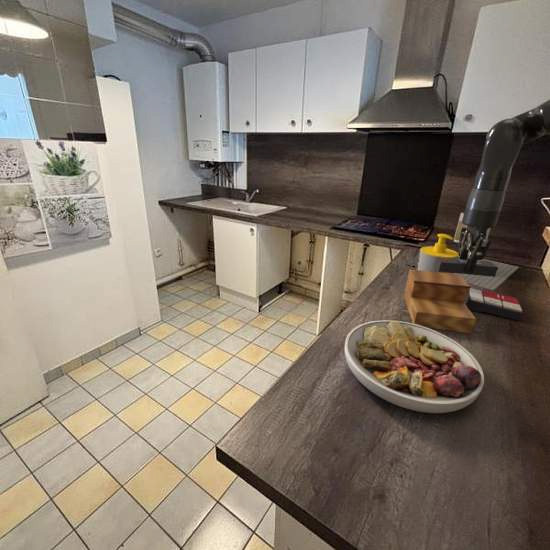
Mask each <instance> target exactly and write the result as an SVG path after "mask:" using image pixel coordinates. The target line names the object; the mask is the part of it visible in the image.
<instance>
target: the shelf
mask: <svg viewBox="0 0 550 550" xmlns="http://www.w3.org/2000/svg"><path fill="white" fill-rule="evenodd" d="M408 270H409V271H408V275H407V280H406V284H405V290H404V293H403V294H404V295H403V299H404V301H405V304H406V308H407V311H408V313H409V317H410V320H411V323H412V324H416V325H420V326H423V327H426V328H429V329H434V330H435V329H437V330H444V331H449V332H458V333H463V334H464V333H466V334H472V333H473V330H474V326H475V323H476V321H477V319H476V317H475V316H474V314H473V312H472V311H471V310H469V309H468V307H467V306H466V305H465V300H466V296H467V293H468V290H469V288H472V287H471V286H470V285H469V283H466V282H465V280H464V279H463V278H462V277H461V276H460V275H459V274H451V273H441V272H430V271H420V270H417V269H408Z"/></svg>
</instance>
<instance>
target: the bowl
mask: <svg viewBox="0 0 550 550" xmlns="http://www.w3.org/2000/svg"><path fill="white" fill-rule="evenodd" d="M344 356H345V360H346V363H347V365H348V367H349V369H350V371H351V372H352V374H353V376H355V378H356V379H357V380H358V381H359V382H360V384H362V385H363V386H364V387H365V388H366V389H368V390H369V391H370V392H372V394H374V395H376V396H378V397H379V398H381V399H382V400H384V401H386V402H388V403H390V404H392V405H395V406H398V407H400V408H403V409H407V410H410V411H415V412H419V413H428V414H446V413H452V412H456V411H459V410H462V409H464V408H466V407H469V405H471V404H473V402H475V401H476V399H477V398H478V397H479V396H480V394H481V393H482V390H483V387H484V385H485V374H484V371H483V368H482V366H481V365H480V363H479V361H478V360H477V359H476V358H475V356H474V355H473V354H472V353H471V352H470V351H468V349H466V348H465V347H464V346H463V345H461V344H460V343H458V342H457V341H456V340H454V339H452V338H451V337H449V336H447V335H445V334H443V333H441V332H439V331H437V330H435V329H433V328H428V327H423V326H420V325H416V324H413V322H407V321H402V320H401V321H400V320H388V319H381V320H371V321H367V322H364V323H362V324H359V325H357V326H355V327H354V328H353V329H351V330H350V331H349V332H348V334H347V336H346V338H345V341H344Z"/></svg>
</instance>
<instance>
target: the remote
mask: <svg viewBox="0 0 550 550" xmlns="http://www.w3.org/2000/svg"><path fill="white" fill-rule="evenodd" d="M466 261H467V260H465V259H454V258H442V257H436V261H435V265H434V266H435V267H436V269H437V270H438V271H439V272H449V273H460V274H470V275H480V276H491V277H495V275H496V272H497V269H498V267H497V266H496V265H494V264H493V263H492V262H488V261H477V263H476V266H475V269H474V272H473V273H468V272H465V271H464V268H465V264H466Z"/></svg>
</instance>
